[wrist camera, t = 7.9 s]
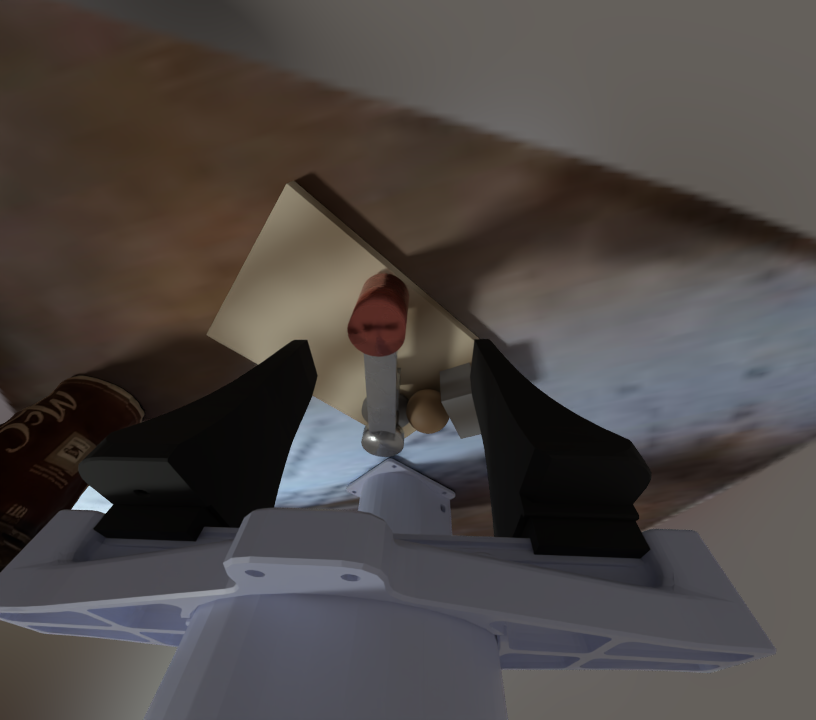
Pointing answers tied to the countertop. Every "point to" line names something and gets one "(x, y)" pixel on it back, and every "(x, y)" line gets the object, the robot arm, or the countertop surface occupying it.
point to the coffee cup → (54, 454)
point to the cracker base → (343, 318)
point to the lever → (381, 358)
